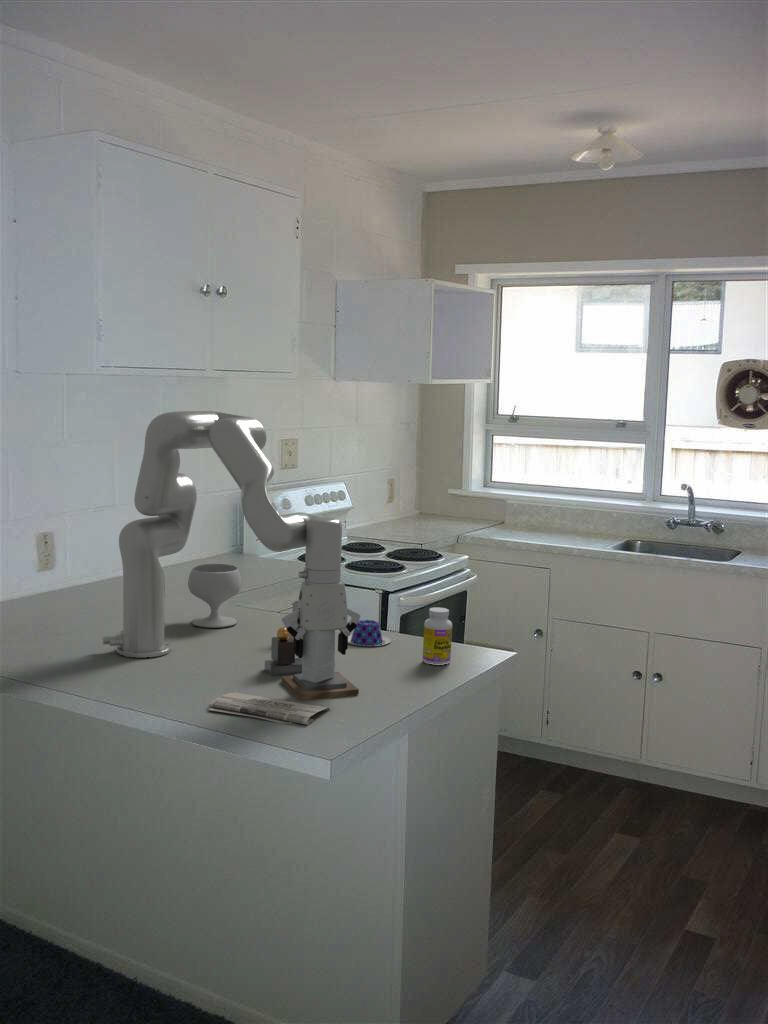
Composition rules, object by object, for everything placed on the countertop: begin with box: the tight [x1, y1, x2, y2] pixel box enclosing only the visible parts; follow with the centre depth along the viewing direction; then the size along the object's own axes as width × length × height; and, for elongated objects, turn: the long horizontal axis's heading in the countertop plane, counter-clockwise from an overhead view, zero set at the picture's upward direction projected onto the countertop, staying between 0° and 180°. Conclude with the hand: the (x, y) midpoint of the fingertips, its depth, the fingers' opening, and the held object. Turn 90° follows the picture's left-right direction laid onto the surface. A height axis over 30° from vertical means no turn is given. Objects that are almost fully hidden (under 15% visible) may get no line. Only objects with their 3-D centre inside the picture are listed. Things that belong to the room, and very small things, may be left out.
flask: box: [290, 600, 303, 640], centre depth 253 cm, size 7×7×10 cm
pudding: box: [348, 619, 392, 647], centre depth 255 cm, size 12×12×5 cm
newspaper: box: [207, 691, 331, 726], centre depth 201 cm, size 23×12×2 cm, turn 68°
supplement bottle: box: [422, 607, 453, 664], centre depth 238 cm, size 7×7×13 cm
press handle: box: [270, 626, 296, 665], centre depth 227 cm, size 4×5×8 cm
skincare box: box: [301, 628, 336, 683], centre depth 215 cm, size 6×4×12 cm
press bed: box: [281, 671, 360, 701], centre depth 216 cm, size 13×13×2 cm
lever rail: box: [264, 657, 335, 676], centre depth 229 cm, size 15×5×2 cm, turn 112°
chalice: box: [187, 563, 243, 629], centre depth 267 cm, size 14×14×15 cm
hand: (320, 654), depth 215 cm, fingers open, 9 cm apart
